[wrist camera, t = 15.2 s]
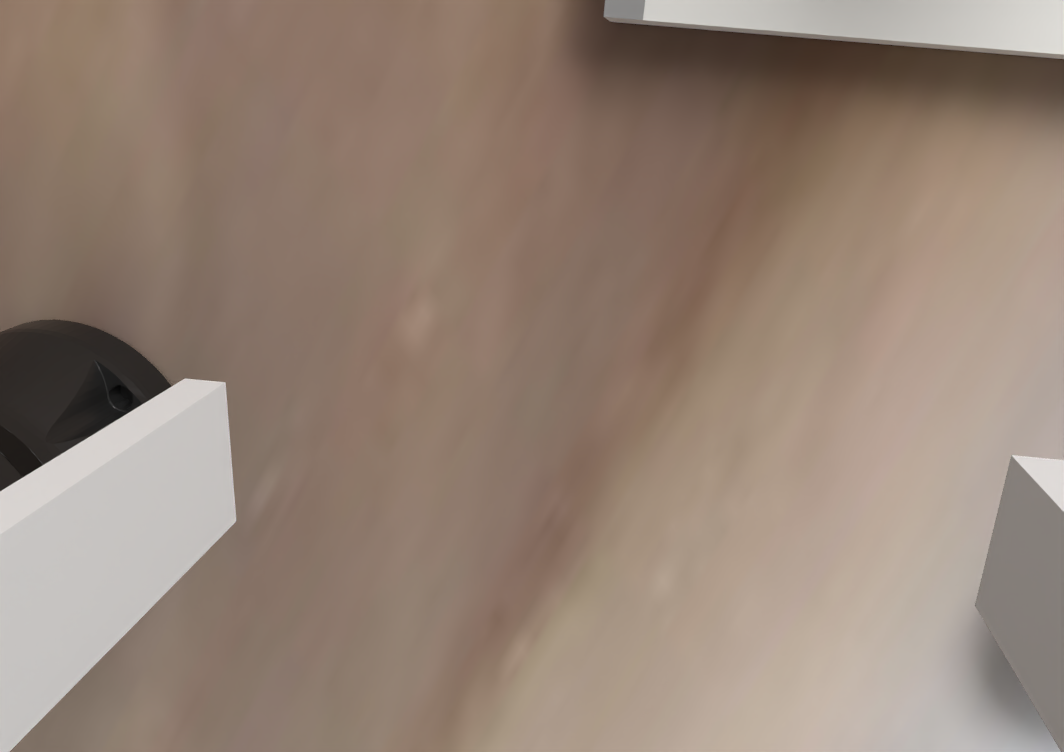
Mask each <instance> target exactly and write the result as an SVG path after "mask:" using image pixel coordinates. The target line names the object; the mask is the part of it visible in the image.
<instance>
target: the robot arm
mask: <svg viewBox="0 0 1064 752" xmlns="http://www.w3.org/2000/svg"><path fill="white" fill-rule="evenodd" d="M235 522H236V511H235V498H234V485H233V473H232V460H231V447H230V434H229V421H228V409H227V396H226V383H225V382H216V381H205V380H194V379H183V380H182V381H180V382H178V383H177V384H175V385H173V386H172V387H171V385H170V384H169V383H168V381H167V380H166V379H165V378H164V376H163V375H162V374H161V373H160V372H159V371H158V370H157V369H156V368H155V367H154V366H153V365H152V364H151V363H150V362H149V361H148V360H147V359H146V358H145V357H143V356H142V355H141V354H140V353H139V352H137V351H136V350H135V349H133V348H132V347H130V346H129V345H127V344H126V343H124V342H123V341H121V340H119V339H118V338H116V337H114V336H112V335H110V334H108V333H106V332H104V331H101V330H99V329H97V328H94V327H91V326H88V325H84V324H80V323H76V322H71V321H63V320H40V321H33V322H29V323H25V324H22V325H19V326H16V327H13V328H10V329H7V330H5V331H2V332H0V752H10V751H11V750H12V749H13V748H14V747H15V746H16V745H17V744H18V742H19V741H20V740H21V739H22V738H23V737H24V736H25V735H26V734H27V733H28V732H29V731H30V730H31V729H32V728H33V727H34V726H35V725H36V724H37V723H38V722H39V721H40V720H41V719H42V718H43V717H44V716H45V715H46V714H47V713H48V712H49V711H50V710H51V709H52V708H53V707H54V706H55V705H56V704H57V703H58V702H59V701H60V700H61V699H62V698H63V697H64V696H65V695H66V694H67V693H68V692H69V691H70V690H71V689H72V688H73V687H74V686H75V685H76V684H77V683H78V682H79V681H80V680H81V679H82V677H83V676H84V675H85V674H86V673H87V672H88V671H89V670H90V669H91V668H92V667H93V666H94V665H95V664H96V663H97V662H98V661H99V660H100V659H101V658H102V657H103V656H104V655H105V654H106V653H107V652H108V651H109V650H110V649H111V648H112V647H113V646H114V645H115V644H116V643H117V642H118V641H119V640H120V639H121V638H122V637H123V636H124V635H125V634H126V633H127V632H128V631H129V630H130V629H131V628H132V627H133V626H134V625H135V624H136V623H137V622H138V621H139V620H140V619H141V618H142V617H143V616H144V615H145V614H146V613H147V611H148V610H149V609H150V608H151V607H152V606H153V605H154V604H155V603H156V602H157V601H158V600H159V599H160V598H161V597H162V596H163V595H164V594H165V593H166V592H167V591H168V590H169V589H170V588H171V587H172V586H173V585H174V584H175V583H176V582H177V581H178V580H179V579H180V578H181V577H182V576H183V575H184V574H185V573H186V572H187V571H188V570H189V569H190V568H191V567H192V566H193V565H194V564H195V563H196V562H197V561H198V560H199V559H200V558H201V557H202V556H203V555H204V554H205V553H206V552H207V551H208V550H209V549H210V548H211V546H212V545H213V544H214V543H215V542H216V541H217V540H218V539H219V538H220V537H221V536H222V535H223V534H224V533H225V532H226V531H227V530H228V529H229V528H230V527H231V526H232V525H233V524H234V523H235ZM975 606H976V608H977V610H978V611H979V613H980V615H981V616H982V618H983V620H984V622H985V623H986V625H987V627H988V628H989V630H990V632H991V633H992V635H993V637H994V638H995V640H996V642H997V644H998V645H999V647H1000V649H1001V650H1002V652H1003V654H1004V655H1005V657H1006V659H1007V661H1008V662H1009V664H1010V666H1011V667H1012V669H1013V671H1014V672H1015V674H1016V676H1017V677H1018V679H1019V681H1020V683H1021V684H1022V686H1023V688H1024V689H1025V691H1026V693H1027V694H1028V696H1029V698H1030V700H1031V701H1032V703H1033V705H1034V706H1035V708H1036V710H1037V711H1038V713H1039V715H1040V717H1041V718H1042V720H1043V722H1044V723H1045V725H1046V727H1047V728H1048V730H1049V732H1050V733H1051V735H1052V737H1053V739H1054V740H1055V742H1056V744H1057V745H1058V747H1059V749H1060V750H1061V752H1064V460H1057V459H1046V458H1035V457H1024V456H1014V455H1011V459H1010V463H1009V467H1008V471H1007V475H1006V480H1005V484H1004V488H1003V492H1002V496H1001V500H1000V504H999V508H998V513H997V517H996V521H995V525H994V529H993V533H992V537H991V541H990V546H989V550H988V554H987V558H986V562H985V566H984V570H983V574H982V579H981V583H980V587H979V591H978V595H977V599H976V603H975Z"/></svg>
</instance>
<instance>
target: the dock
mask: <svg viewBox="0 0 1064 752" xmlns="http://www.w3.org/2000/svg"><path fill="white" fill-rule="evenodd" d="M604 18H606V19H607V20H609V21H610V22H618V23H630V24H642V25H654V26H667V27H679V28H691V29H703V30H715V31H727V32H739V33H752V34H764V35H776V36H788V37H800V38H812V39H824V40H837V41H849V42H861V43H873V44H885V45H897V46H910V47H922V48H934V49H946V50H958V51H970V52H982V53H995V54H1007V55H1019V56H1031V57H1043V58H1055V59H1064V0H605V7H604Z"/></svg>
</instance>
